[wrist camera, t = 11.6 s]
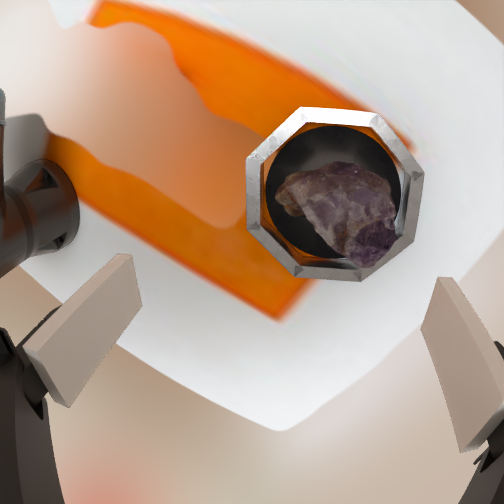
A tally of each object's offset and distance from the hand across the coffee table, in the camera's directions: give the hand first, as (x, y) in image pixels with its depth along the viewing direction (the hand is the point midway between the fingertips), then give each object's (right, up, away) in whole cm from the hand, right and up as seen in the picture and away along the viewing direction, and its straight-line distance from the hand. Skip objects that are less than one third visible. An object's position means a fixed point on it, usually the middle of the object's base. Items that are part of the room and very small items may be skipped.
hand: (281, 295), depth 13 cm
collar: (+8, +8, +21) cm, 24 cm away
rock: (+9, +8, +21) cm, 24 cm away
